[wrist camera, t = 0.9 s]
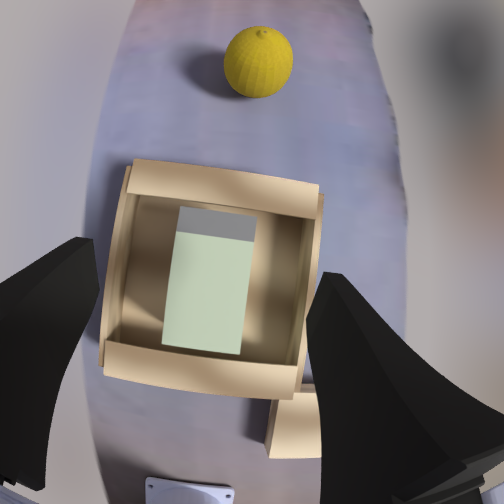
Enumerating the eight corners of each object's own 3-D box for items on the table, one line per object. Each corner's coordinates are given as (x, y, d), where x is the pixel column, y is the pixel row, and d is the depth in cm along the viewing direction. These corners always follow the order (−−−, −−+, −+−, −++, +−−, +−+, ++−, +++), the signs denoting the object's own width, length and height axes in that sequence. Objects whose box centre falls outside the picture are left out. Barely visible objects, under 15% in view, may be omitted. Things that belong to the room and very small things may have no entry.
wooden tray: (286, 382, 24) (299, 400, 20) (114, 359, 23) (97, 373, 19) (308, 201, 26) (325, 186, 22) (140, 177, 24) (127, 157, 20)
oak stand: (329, 443, 24) (338, 456, 22) (263, 444, 23) (268, 458, 21) (342, 384, 25) (354, 393, 22) (274, 382, 24) (280, 391, 22)
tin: (233, 337, 23) (239, 354, 18) (174, 329, 23) (161, 343, 17) (247, 232, 24) (257, 216, 18) (188, 224, 24) (180, 205, 18)
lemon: (209, 91, 26) (210, 32, 18) (247, 58, 27) (258, 1, 19) (257, 124, 26) (273, 70, 18) (293, 88, 27) (317, 34, 19)
